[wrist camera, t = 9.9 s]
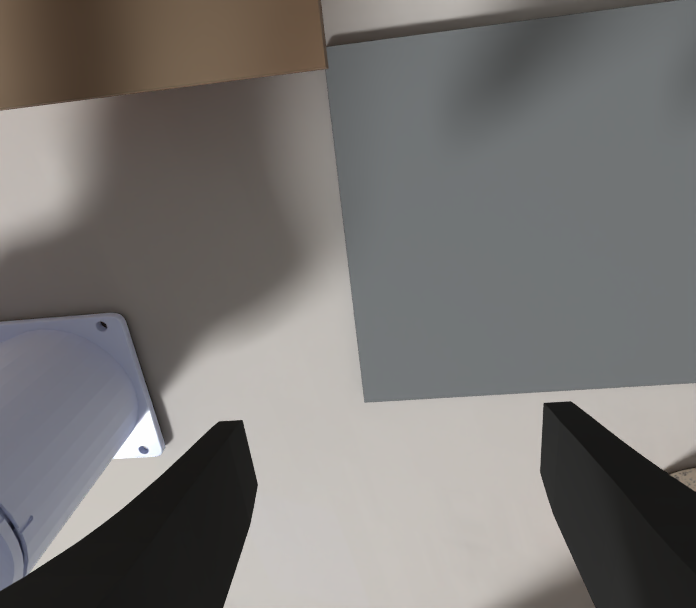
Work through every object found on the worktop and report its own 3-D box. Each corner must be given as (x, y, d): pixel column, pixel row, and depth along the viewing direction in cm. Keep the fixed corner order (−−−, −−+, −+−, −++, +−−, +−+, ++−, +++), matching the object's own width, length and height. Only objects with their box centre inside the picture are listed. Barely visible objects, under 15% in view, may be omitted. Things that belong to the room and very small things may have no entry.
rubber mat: (364, 396, 24) (364, 402, 23) (324, 48, 18) (322, 47, 17) (695, 376, 22) (702, 382, 22) (769, -11, 16) (780, -14, 16)
